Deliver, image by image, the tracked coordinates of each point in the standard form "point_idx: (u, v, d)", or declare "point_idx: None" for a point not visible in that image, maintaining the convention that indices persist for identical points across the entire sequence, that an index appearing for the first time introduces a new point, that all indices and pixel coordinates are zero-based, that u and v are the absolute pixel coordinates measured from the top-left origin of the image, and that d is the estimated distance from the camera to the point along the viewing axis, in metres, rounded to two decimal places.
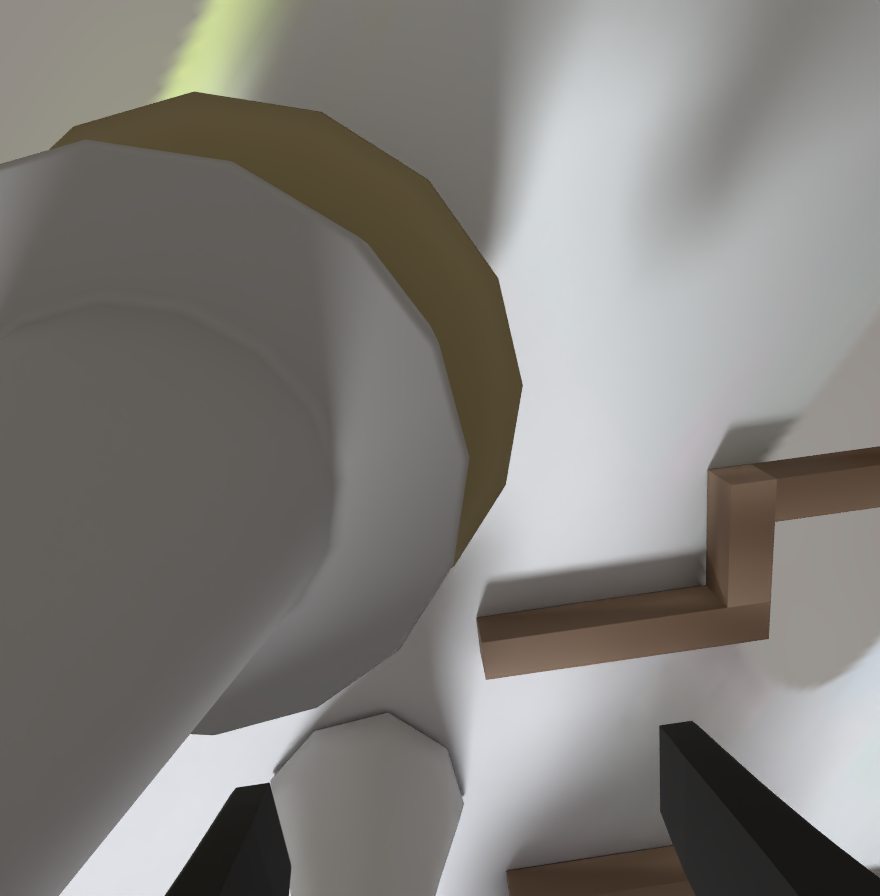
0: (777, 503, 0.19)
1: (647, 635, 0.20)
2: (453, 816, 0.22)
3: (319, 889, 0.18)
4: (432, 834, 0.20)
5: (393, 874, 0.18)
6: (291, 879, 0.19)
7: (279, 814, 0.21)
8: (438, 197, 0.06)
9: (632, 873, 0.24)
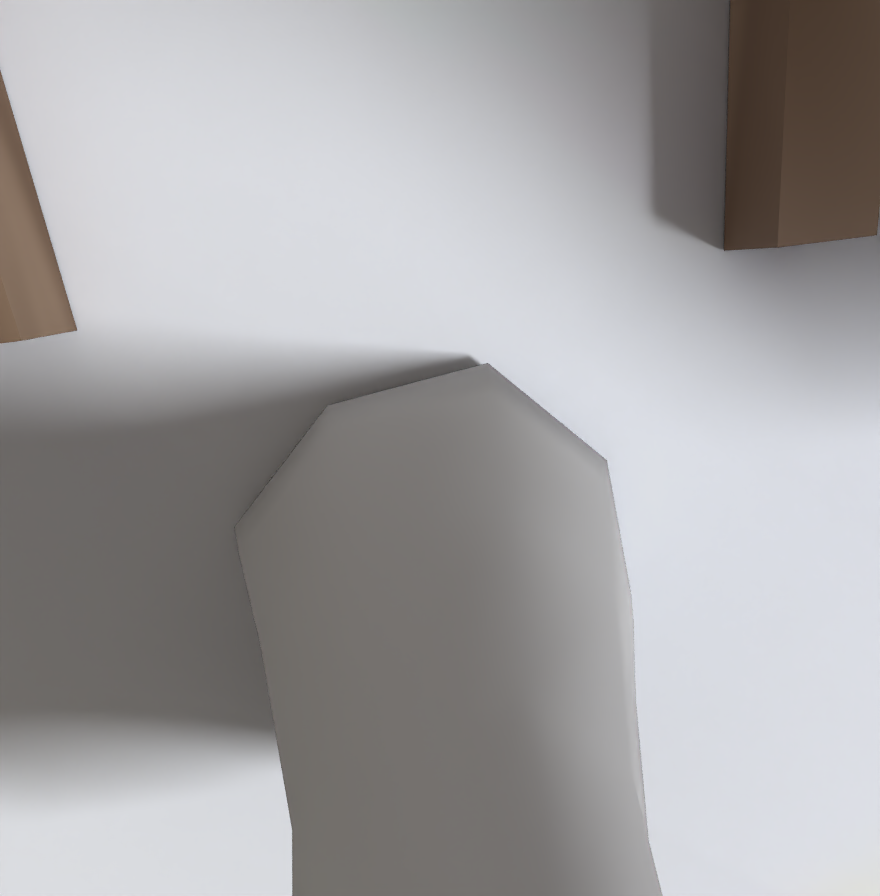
0: None
1: None
2: (456, 406, 0.09)
3: None
4: (387, 496, 0.08)
5: (313, 676, 0.06)
6: None
7: None
8: None
9: None
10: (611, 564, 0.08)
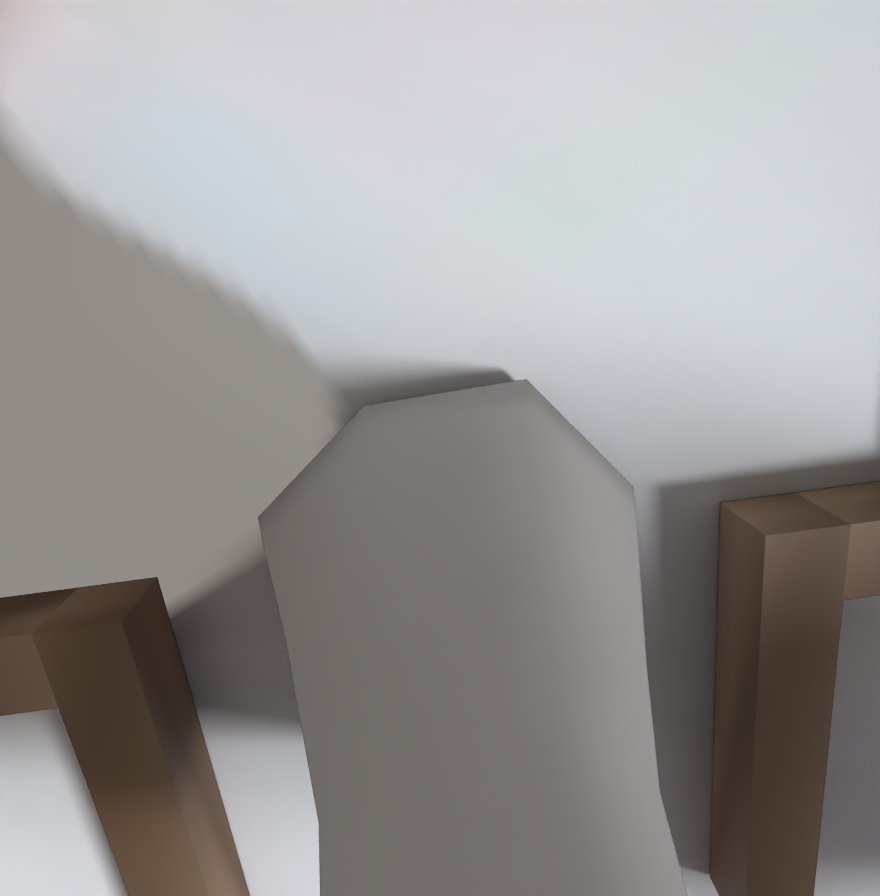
0: None
1: (138, 825, 0.11)
2: (494, 418, 0.09)
3: None
4: (425, 502, 0.08)
5: (344, 672, 0.06)
6: None
7: None
8: None
9: (736, 737, 0.12)
10: (638, 589, 0.08)
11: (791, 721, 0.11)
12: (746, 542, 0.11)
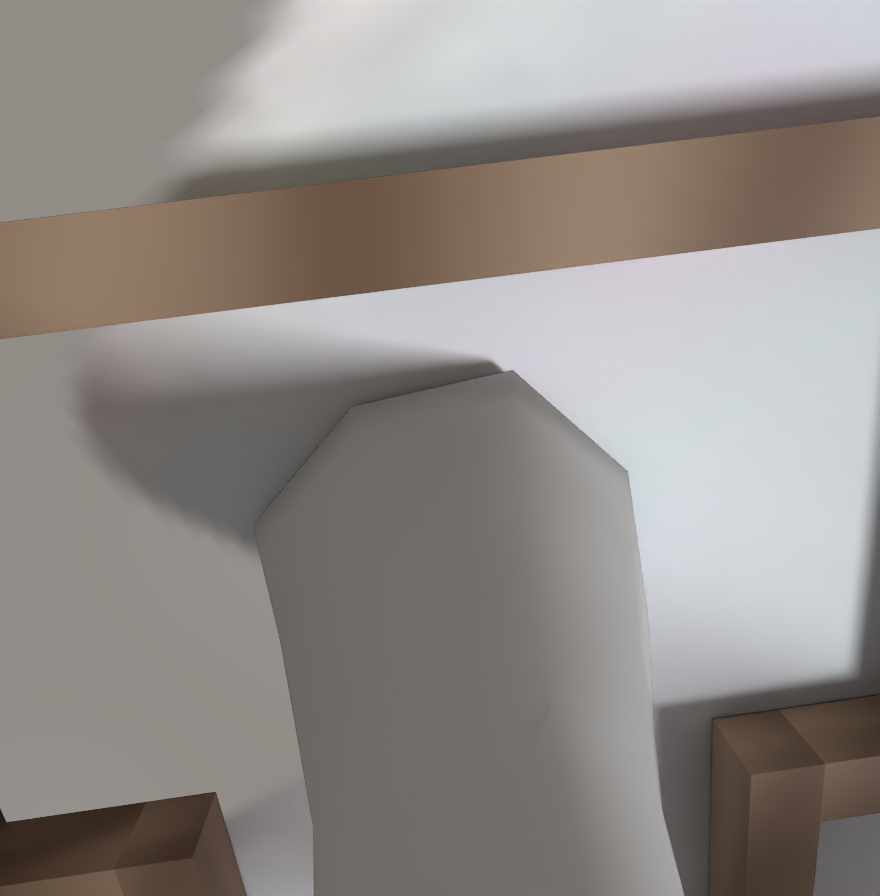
0: None
1: None
2: (480, 412, 0.09)
3: None
4: (412, 499, 0.08)
5: (336, 674, 0.06)
6: None
7: None
8: None
9: None
10: (633, 575, 0.08)
11: None
12: (734, 768, 0.12)
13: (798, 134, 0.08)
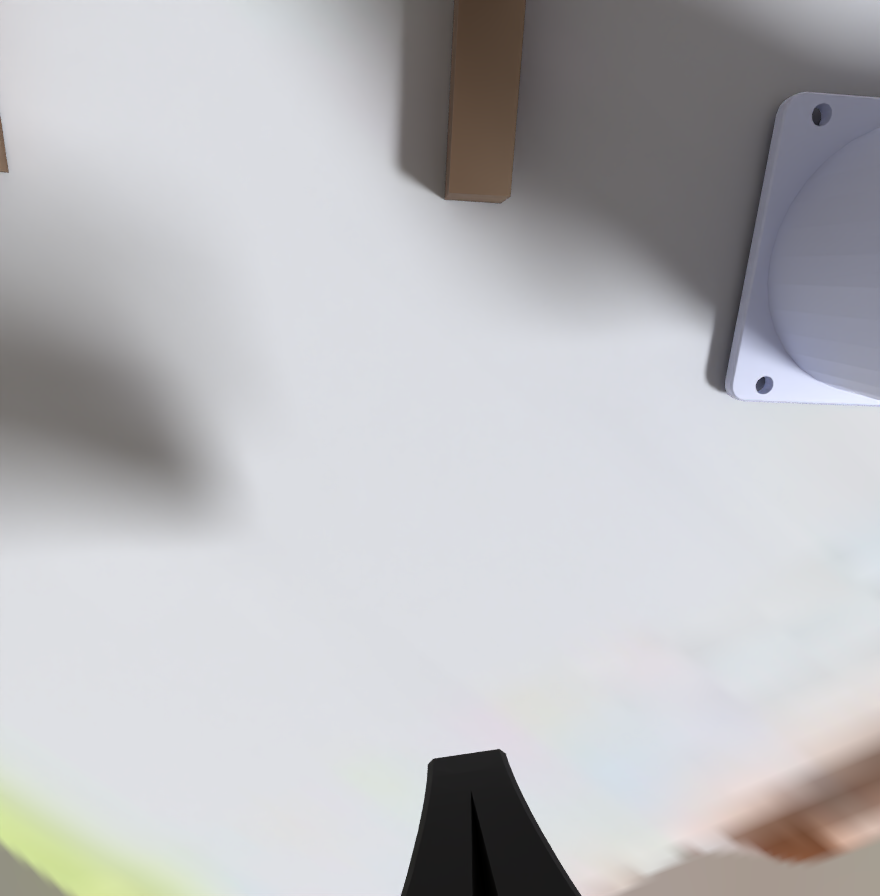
0: None
1: None
2: None
3: None
4: None
5: None
6: None
7: None
8: None
9: None
10: None
11: None
12: None
13: None
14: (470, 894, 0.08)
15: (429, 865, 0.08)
